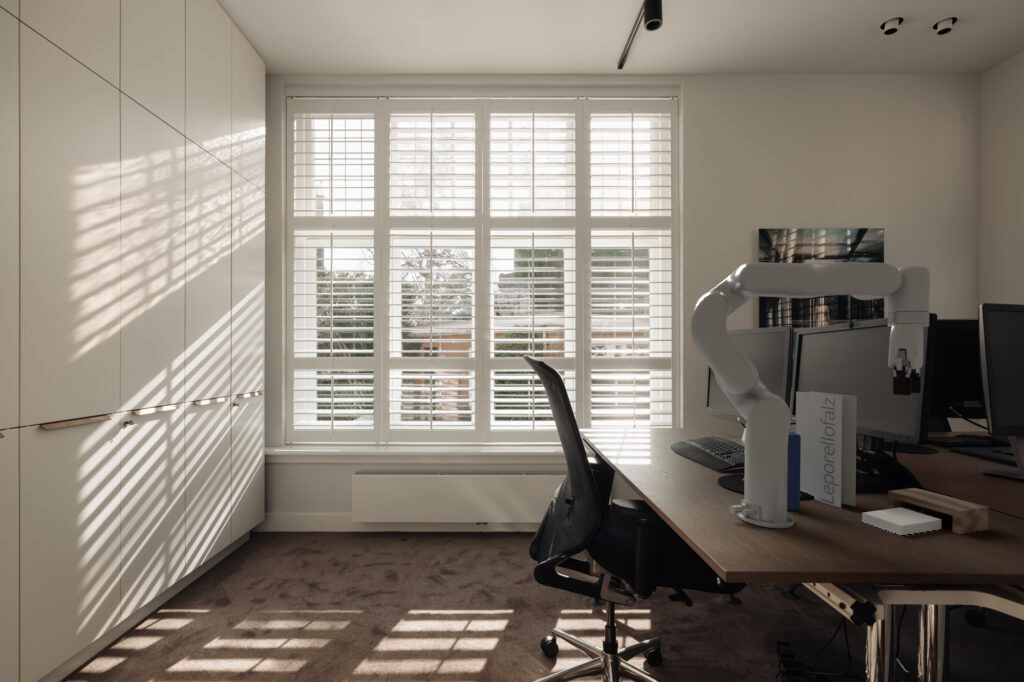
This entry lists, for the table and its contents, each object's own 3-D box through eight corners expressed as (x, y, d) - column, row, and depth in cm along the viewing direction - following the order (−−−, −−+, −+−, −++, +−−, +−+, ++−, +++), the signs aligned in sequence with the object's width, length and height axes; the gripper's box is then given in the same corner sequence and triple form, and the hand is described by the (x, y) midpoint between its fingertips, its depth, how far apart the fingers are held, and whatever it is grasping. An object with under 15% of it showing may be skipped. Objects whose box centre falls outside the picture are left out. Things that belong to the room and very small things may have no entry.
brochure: (794, 492, 144) (795, 391, 145) (808, 491, 146) (810, 391, 146) (840, 508, 131) (841, 396, 131) (855, 506, 133) (856, 396, 133)
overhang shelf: (960, 534, 113) (960, 511, 113) (887, 511, 128) (887, 491, 128) (988, 529, 117) (988, 506, 117) (914, 508, 132) (914, 487, 132)
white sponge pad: (901, 536, 112) (901, 525, 112) (862, 522, 120) (862, 512, 120) (941, 529, 116) (941, 519, 116) (900, 516, 125) (900, 507, 125)
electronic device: (802, 509, 129) (803, 434, 129) (784, 510, 128) (785, 434, 128) (777, 498, 138) (777, 428, 139) (760, 499, 138) (761, 428, 138)
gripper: (897, 322, 122) (896, 390, 122) (878, 319, 111) (877, 394, 111) (936, 321, 116) (935, 393, 116) (920, 318, 105) (919, 397, 105)
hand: (907, 393), depth 113 cm, fingers open, 9 cm apart
